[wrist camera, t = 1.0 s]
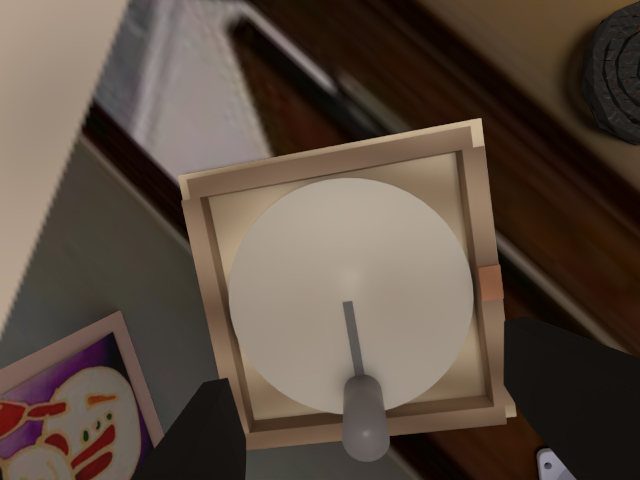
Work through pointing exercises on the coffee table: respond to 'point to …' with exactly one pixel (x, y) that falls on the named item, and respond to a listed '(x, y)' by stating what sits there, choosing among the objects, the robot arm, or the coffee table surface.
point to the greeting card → (77, 409)
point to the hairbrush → (615, 74)
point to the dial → (351, 302)
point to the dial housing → (387, 167)
